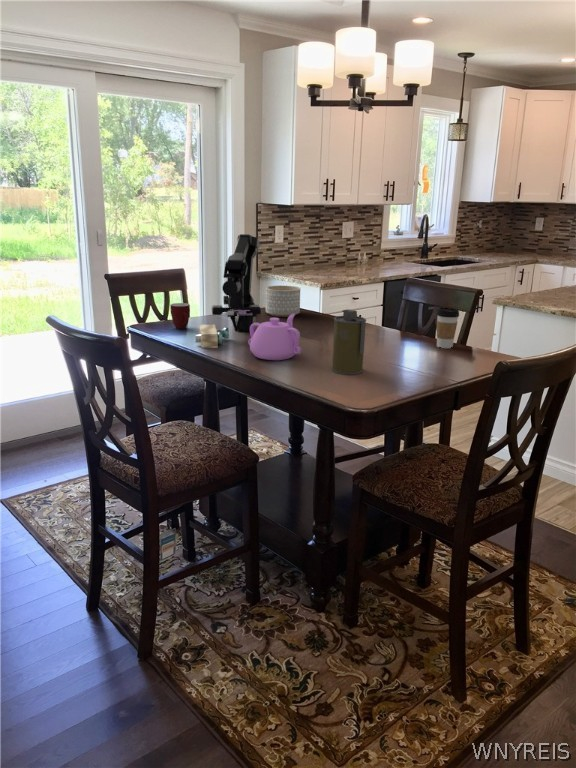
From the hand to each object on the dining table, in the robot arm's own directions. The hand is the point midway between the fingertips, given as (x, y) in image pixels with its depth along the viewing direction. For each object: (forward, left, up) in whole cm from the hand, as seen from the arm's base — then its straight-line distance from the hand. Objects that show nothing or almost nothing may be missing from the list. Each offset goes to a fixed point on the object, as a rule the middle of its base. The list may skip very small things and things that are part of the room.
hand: (236, 331), depth 237 cm
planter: (-27, -50, -4) cm, 57 cm away
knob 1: (+11, +8, -3) cm, 14 cm away
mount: (+11, +4, -3) cm, 12 cm away
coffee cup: (-79, +19, -4) cm, 82 cm away
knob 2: (+7, 0, -3) cm, 8 cm away
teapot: (-12, +25, -4) cm, 28 cm away
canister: (-32, +47, -3) cm, 57 cm away
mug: (+21, -22, -3) cm, 30 cm away
